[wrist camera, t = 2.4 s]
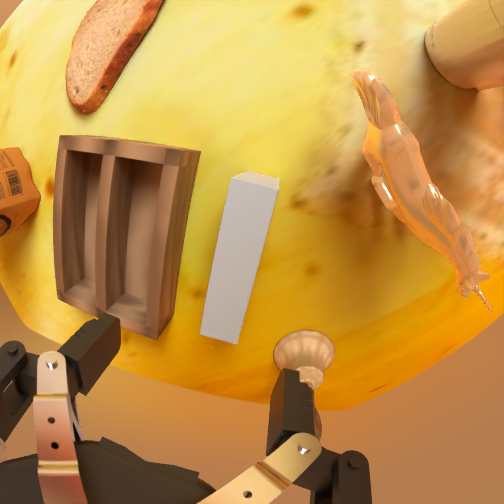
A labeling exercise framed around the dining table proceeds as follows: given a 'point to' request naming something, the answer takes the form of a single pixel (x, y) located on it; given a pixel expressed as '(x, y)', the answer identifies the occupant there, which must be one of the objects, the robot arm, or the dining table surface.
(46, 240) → the dining table surface
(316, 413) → the hand bell
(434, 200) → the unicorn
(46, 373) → the robot arm
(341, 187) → the dining table surface
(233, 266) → the white rectangular block
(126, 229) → the rack
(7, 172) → the coffee package
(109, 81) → the slice of bread
